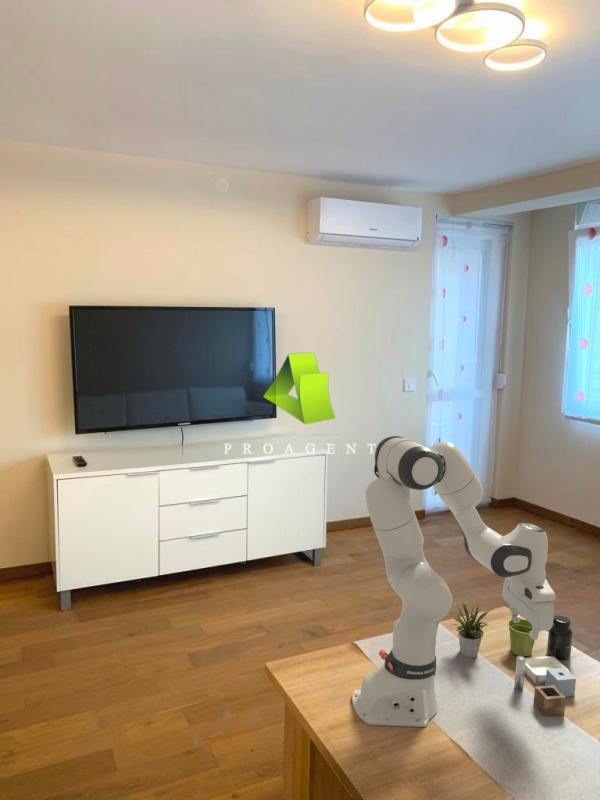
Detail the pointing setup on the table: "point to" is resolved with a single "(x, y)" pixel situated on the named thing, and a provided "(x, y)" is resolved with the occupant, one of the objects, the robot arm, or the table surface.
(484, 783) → the table surface
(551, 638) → the supplement bottle
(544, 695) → the walnut block
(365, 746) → the table surface
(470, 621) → the house plant
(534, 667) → the off-white tray
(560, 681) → the slate-blue block
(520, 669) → the pin gauge
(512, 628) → the plant pot
